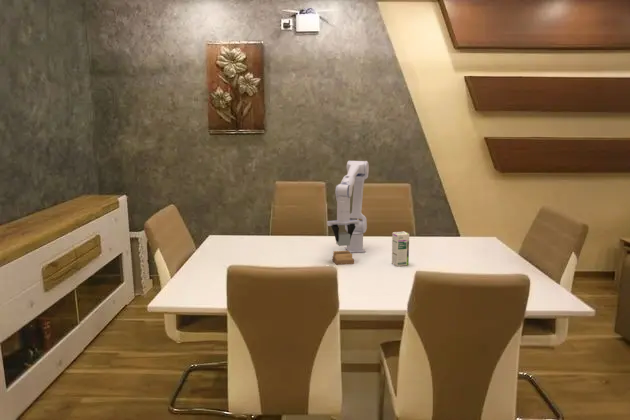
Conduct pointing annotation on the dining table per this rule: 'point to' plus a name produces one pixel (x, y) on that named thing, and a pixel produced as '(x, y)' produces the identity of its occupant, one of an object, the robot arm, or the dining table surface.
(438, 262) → the dining table surface
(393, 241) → the syrup box
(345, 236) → the slate cube
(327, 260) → the dining table surface
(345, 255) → the oak top block
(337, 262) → the walnut base block
